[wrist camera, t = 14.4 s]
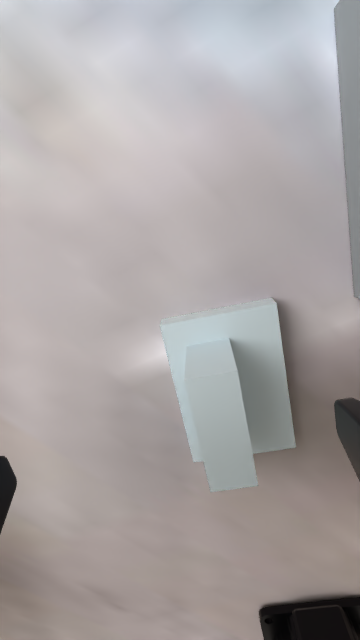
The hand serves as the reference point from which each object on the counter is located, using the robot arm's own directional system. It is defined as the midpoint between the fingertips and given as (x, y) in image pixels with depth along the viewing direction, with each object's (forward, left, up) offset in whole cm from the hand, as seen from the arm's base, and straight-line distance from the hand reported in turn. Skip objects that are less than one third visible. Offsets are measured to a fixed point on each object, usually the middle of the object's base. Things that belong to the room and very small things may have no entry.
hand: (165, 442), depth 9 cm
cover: (-2, -2, -7) cm, 7 cm away
